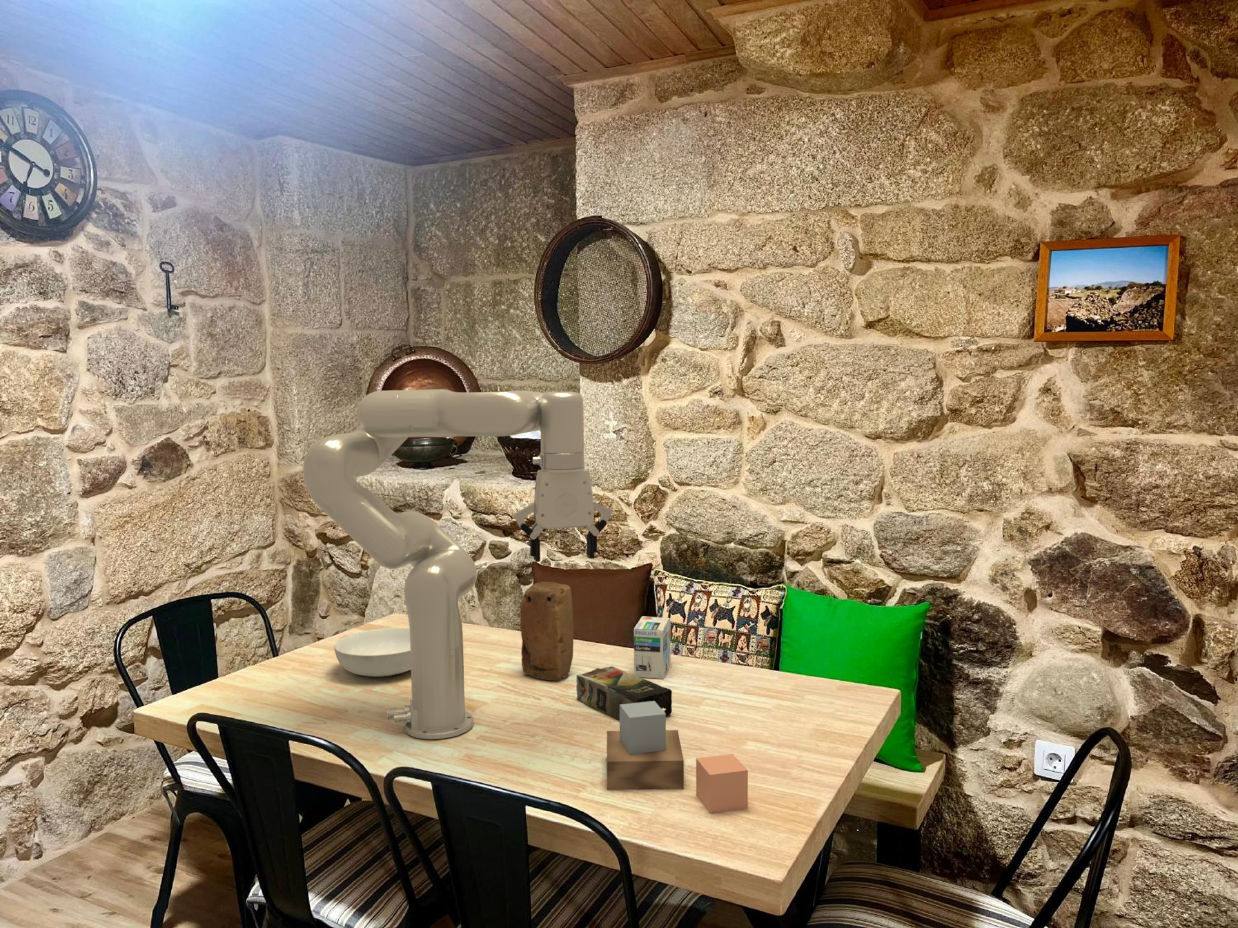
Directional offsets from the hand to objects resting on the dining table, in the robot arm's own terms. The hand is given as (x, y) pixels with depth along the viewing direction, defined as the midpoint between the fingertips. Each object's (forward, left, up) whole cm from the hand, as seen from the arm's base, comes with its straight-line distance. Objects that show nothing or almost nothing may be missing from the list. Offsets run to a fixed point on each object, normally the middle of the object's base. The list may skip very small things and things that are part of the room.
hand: (563, 558), depth 158 cm
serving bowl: (-32, +46, -33) cm, 65 cm away
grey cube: (+9, -18, -28) cm, 34 cm away
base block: (+9, -18, -33) cm, 39 cm away
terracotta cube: (+18, -31, -32) cm, 48 cm away
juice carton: (+13, +11, -33) cm, 37 cm away
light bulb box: (+25, +30, -33) cm, 51 cm away
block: (+2, +33, -32) cm, 46 cm away
